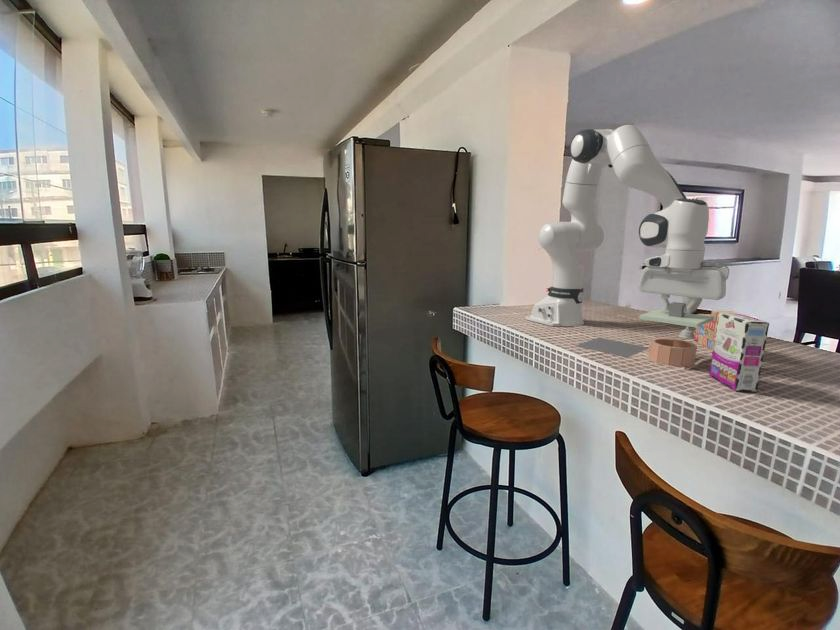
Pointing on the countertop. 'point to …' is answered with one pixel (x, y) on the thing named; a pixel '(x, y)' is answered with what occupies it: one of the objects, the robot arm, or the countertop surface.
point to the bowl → (672, 352)
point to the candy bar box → (738, 351)
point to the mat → (612, 347)
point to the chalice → (687, 332)
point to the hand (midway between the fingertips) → (677, 312)
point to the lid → (677, 316)
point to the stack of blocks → (710, 329)
